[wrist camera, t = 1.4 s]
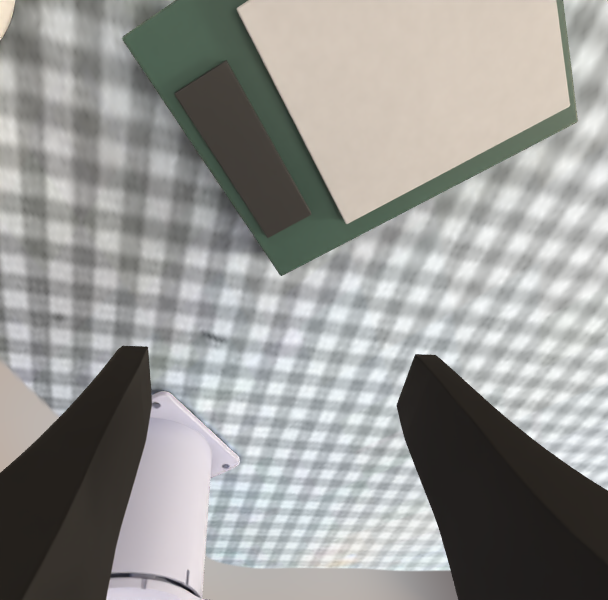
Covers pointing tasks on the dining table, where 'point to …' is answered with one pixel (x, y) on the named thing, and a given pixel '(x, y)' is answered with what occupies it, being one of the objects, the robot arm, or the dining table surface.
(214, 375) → the dining table surface
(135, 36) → the scale
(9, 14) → the can
